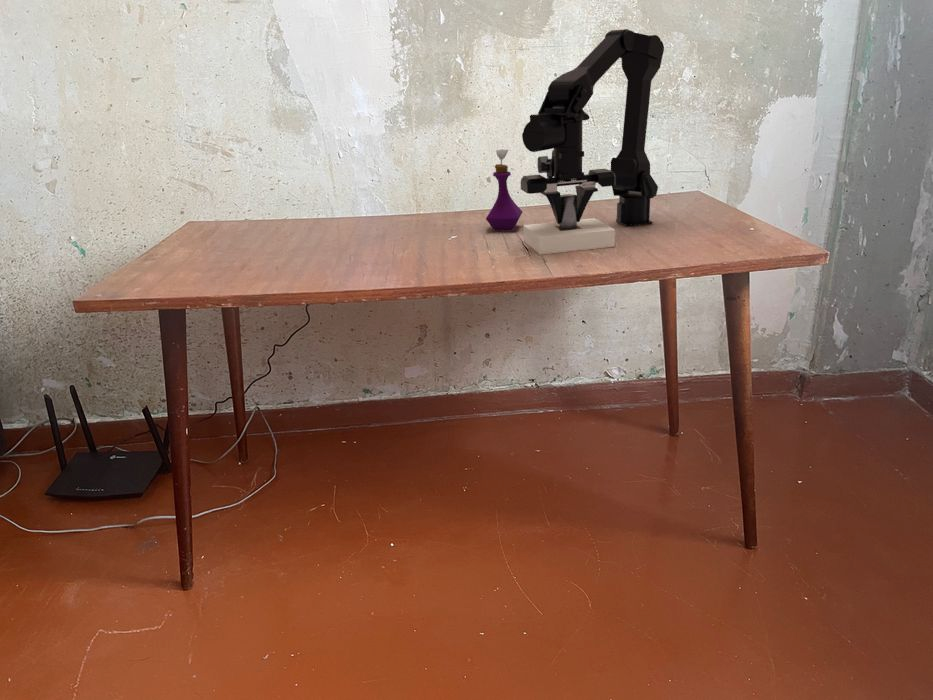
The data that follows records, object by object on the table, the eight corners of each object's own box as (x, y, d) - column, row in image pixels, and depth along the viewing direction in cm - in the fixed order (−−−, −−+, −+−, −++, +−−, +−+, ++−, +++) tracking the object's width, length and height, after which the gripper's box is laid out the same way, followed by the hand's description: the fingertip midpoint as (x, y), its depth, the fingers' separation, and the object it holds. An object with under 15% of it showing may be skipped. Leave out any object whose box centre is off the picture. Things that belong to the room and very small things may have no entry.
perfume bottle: (518, 232, 161) (516, 151, 154) (486, 232, 163) (482, 152, 156) (522, 225, 168) (520, 147, 161) (491, 225, 169) (488, 148, 162)
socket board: (593, 233, 156) (594, 218, 155) (614, 246, 145) (615, 229, 144) (523, 241, 153) (523, 225, 152) (539, 254, 143) (539, 237, 141)
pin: (573, 236, 151) (573, 193, 147) (579, 239, 148) (579, 196, 144) (557, 237, 150) (557, 195, 147) (562, 241, 147) (562, 198, 144)
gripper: (597, 138, 150) (596, 211, 156) (512, 145, 147) (515, 219, 153) (617, 143, 140) (615, 221, 146) (527, 151, 137) (529, 230, 143)
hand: (568, 222), depth 148 cm, fingers open, 4 cm apart
